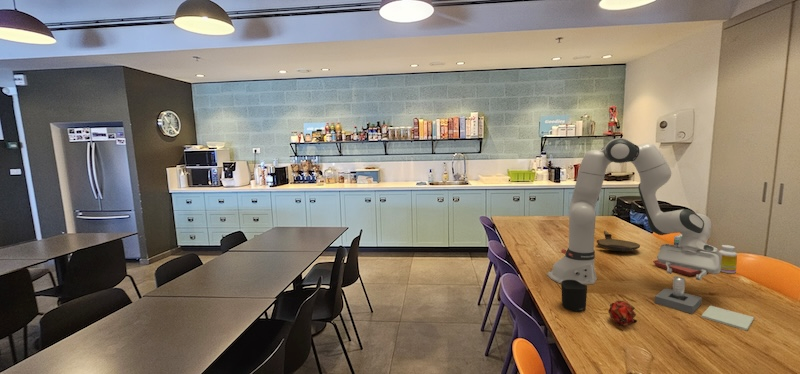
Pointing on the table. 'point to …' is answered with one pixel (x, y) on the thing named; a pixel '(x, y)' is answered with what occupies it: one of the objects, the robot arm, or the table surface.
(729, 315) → the pad
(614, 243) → the frying pan
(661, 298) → the square socket
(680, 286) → the peg
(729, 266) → the supplement bottle
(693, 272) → the plant saucer
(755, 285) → the table surface
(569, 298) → the pen holder
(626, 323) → the dragon fruit
